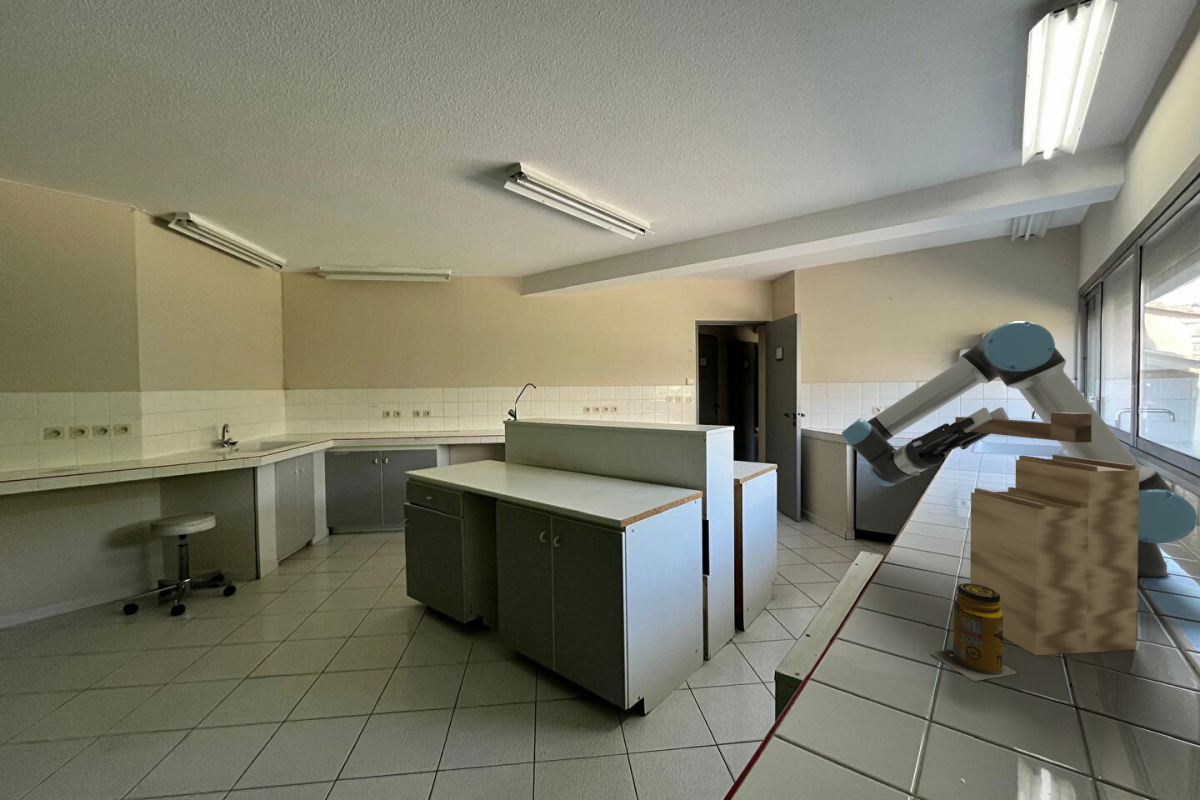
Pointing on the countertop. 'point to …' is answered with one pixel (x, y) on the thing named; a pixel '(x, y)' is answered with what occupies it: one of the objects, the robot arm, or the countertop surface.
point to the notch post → (1061, 554)
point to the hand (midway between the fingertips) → (995, 413)
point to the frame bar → (1042, 427)
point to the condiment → (976, 634)
